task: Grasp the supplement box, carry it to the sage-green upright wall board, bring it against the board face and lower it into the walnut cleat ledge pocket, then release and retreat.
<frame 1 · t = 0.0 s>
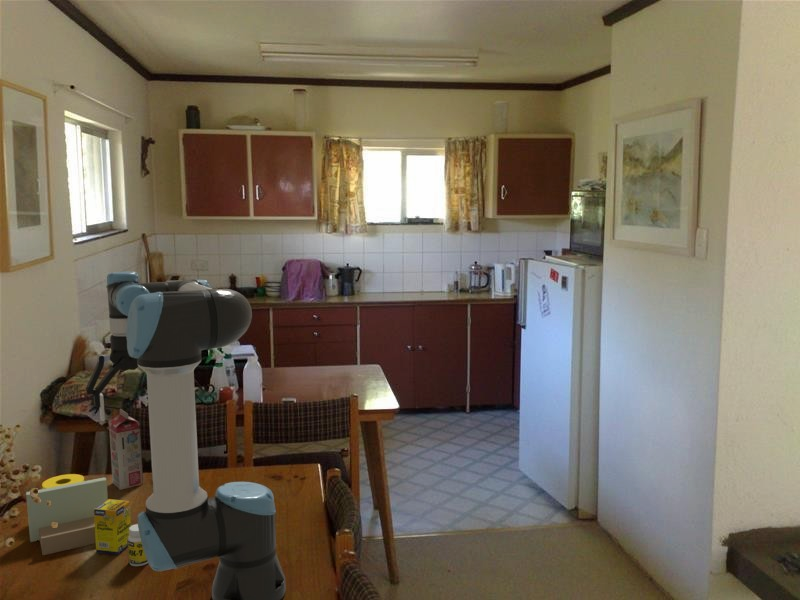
hand: (131, 415, 179), 28 cm above the table, fingers open, 13 cm apart
supplement bottle: (140, 562, 161), on the table
tape roll: (65, 516, 186), on the table
juice carton: (128, 484, 207), on the table
supplement box: (114, 549, 168), on the table
wall board: (70, 531, 176), on the table
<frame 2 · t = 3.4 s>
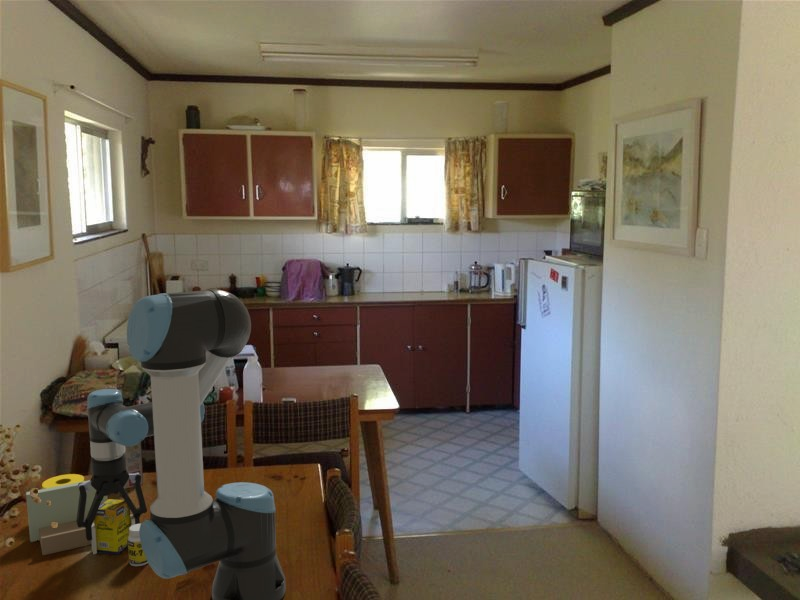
hand: (114, 546, 168), 0 cm above the table, fingers closed on supplement box, 8 cm apart
supplement box: (114, 548, 168), on the table, touching gripper
everything else where it was.
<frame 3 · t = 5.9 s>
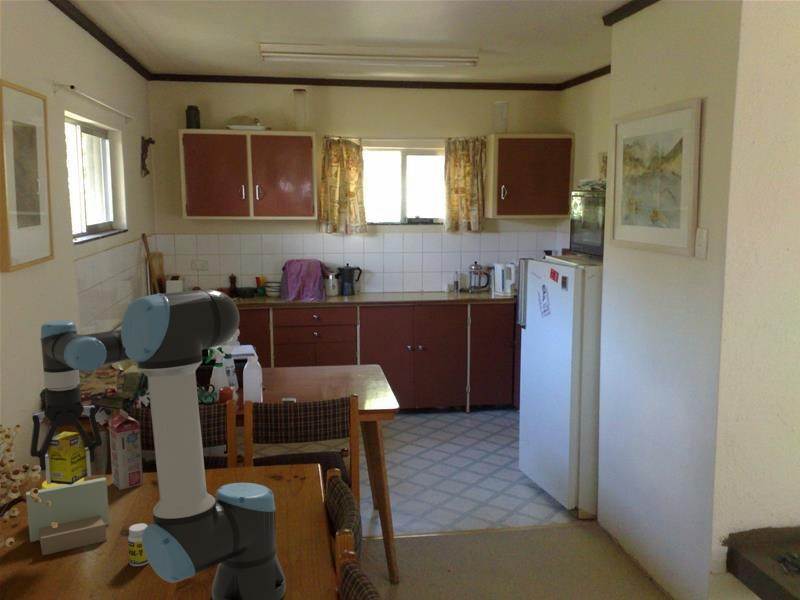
hand: (68, 478, 169), 16 cm above the table, fingers closed on supplement box, 8 cm apart
supplement box: (69, 480, 169), point 16 cm above the table, touching gripper
everything else where it was.
when the fingers open (5 cm above the table, at t = 8.6 s): supplement box stays where it is, resting on wall board.
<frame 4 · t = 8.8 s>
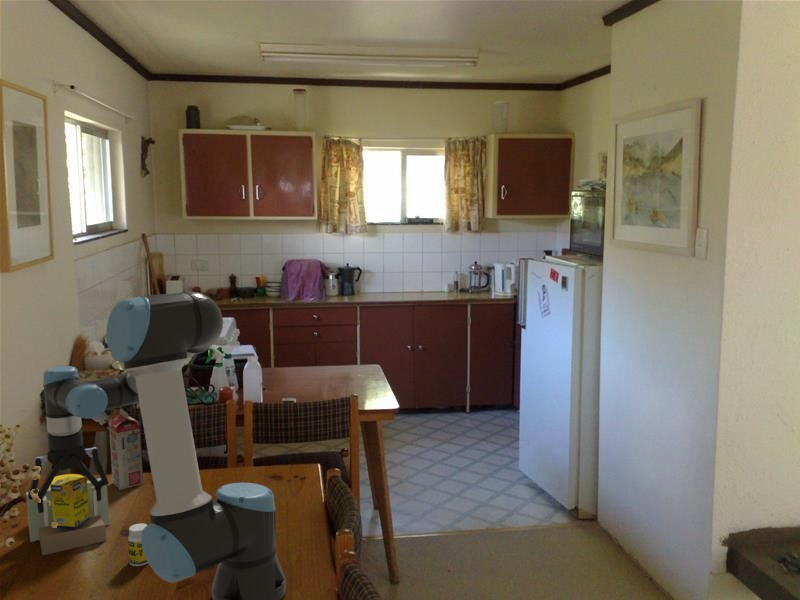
hand: (71, 518, 172), 5 cm above the table, fingers open, 10 cm apart
supplement box: (72, 524, 171), point 4 cm above the table, touching wall board
everything else where it was.
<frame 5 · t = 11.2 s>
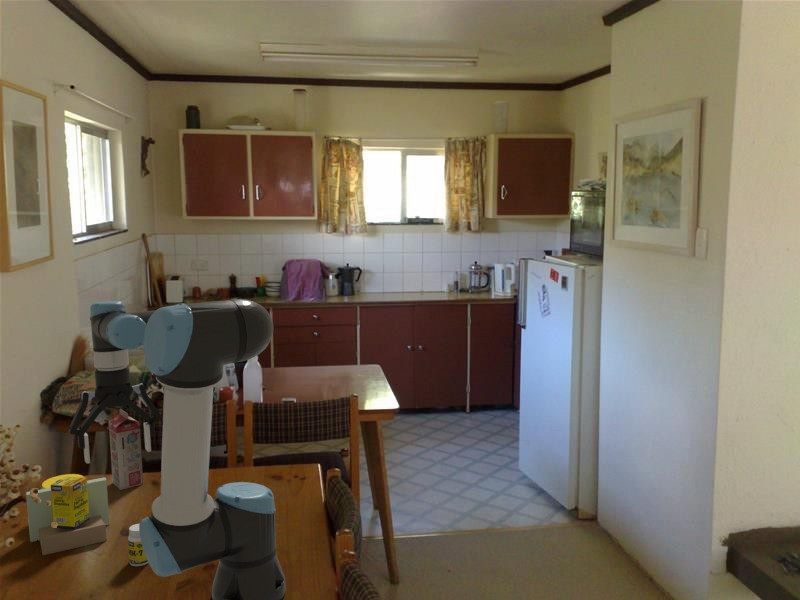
hand: (118, 455, 166), 22 cm above the table, fingers open, 13 cm apart
nothing on the table moved.
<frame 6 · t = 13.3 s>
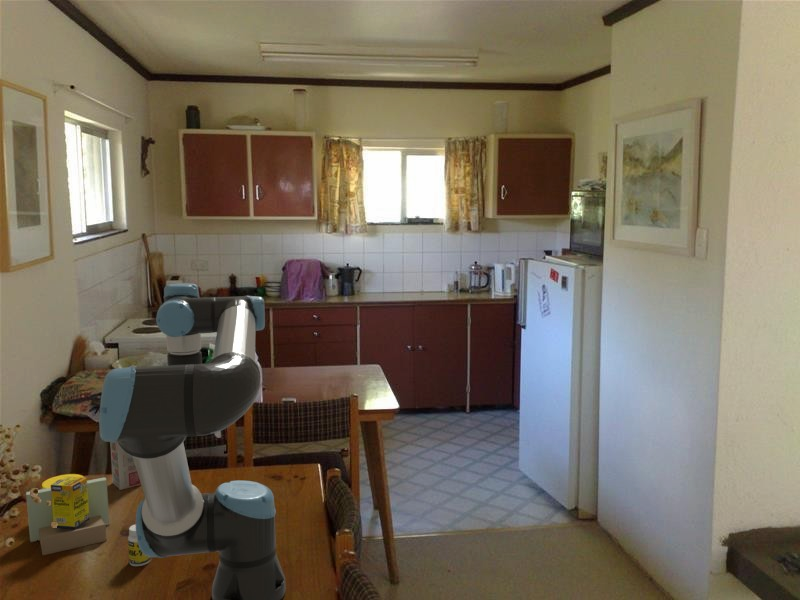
hand: (188, 441, 163), 27 cm above the table, fingers open, 13 cm apart
nothing on the table moved.
at the end: supplement box inside the target area on the wall board (0.1 cm from its centre), point 3.9 cm above the wall board's base; supplement box tilted 1°; the gripper is holding nothing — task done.
